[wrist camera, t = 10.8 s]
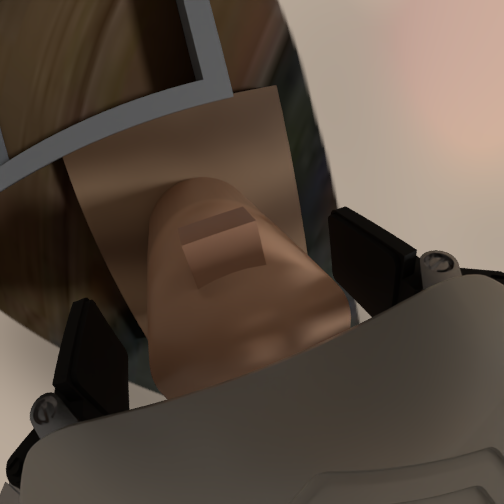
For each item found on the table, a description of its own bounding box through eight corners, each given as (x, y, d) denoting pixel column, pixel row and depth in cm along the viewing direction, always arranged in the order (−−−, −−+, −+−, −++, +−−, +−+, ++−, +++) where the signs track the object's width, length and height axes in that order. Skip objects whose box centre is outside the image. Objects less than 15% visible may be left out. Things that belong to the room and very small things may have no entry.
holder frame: (-27, 7, 6) (-44, -1, 3) (176, -80, 8) (180, -100, 6) (3, 190, 13) (-16, 201, 10) (223, 99, 15) (233, 96, 13)
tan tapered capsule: (235, 146, 15) (345, 191, 6) (267, 282, 19) (347, 399, 11) (126, 181, 14) (86, 280, 5) (181, 313, 18) (214, 452, 10)
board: (67, 151, 13) (61, 153, 12) (268, 87, 15) (276, 85, 14) (153, 337, 20) (153, 348, 19) (304, 282, 22) (312, 291, 21)
